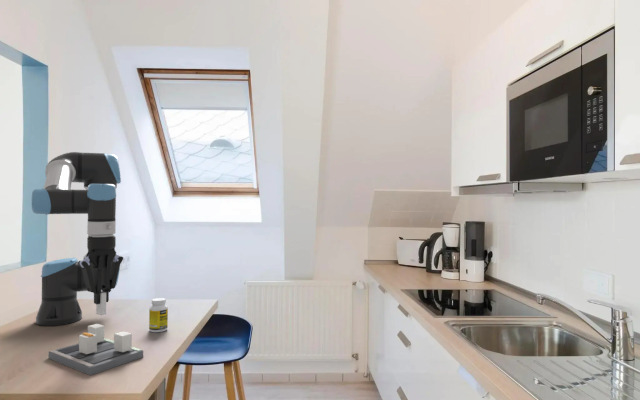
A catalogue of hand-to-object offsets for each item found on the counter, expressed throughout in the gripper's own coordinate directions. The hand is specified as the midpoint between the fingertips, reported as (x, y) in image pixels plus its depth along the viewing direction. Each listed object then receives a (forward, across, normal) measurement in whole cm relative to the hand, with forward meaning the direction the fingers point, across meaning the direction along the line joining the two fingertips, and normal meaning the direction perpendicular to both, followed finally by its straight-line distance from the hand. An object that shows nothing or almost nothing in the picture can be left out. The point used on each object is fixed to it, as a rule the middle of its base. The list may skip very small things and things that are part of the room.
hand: (101, 313), depth 129 cm
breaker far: (+10, +2, +6) cm, 12 cm away
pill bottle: (+13, +25, +7) cm, 29 cm away
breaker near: (+10, +2, -8) cm, 13 cm away
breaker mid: (+10, -4, -1) cm, 11 cm away
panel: (+13, -2, -1) cm, 13 cm away
